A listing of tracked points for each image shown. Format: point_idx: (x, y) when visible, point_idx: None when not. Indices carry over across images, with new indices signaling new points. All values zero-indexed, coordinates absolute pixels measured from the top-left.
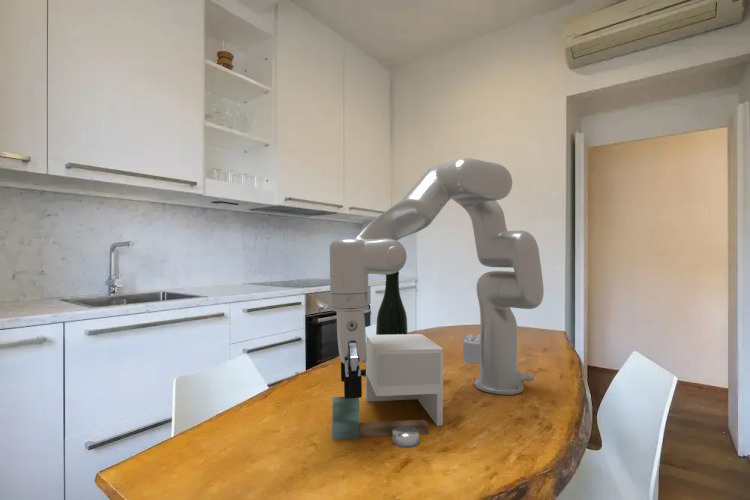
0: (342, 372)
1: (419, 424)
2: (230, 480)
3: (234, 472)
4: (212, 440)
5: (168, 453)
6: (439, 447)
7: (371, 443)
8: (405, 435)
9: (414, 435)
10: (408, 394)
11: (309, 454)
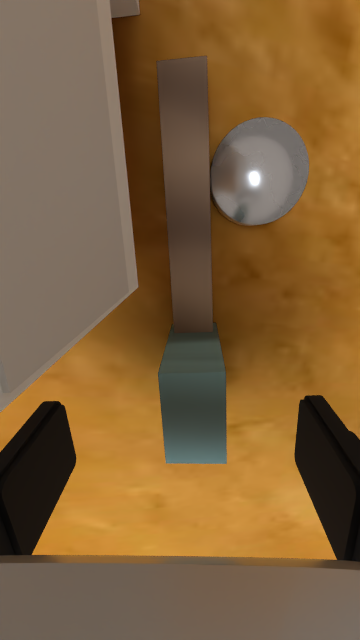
0: (56, 500)
1: (204, 100)
2: None
3: (328, 546)
4: None
5: None
6: (318, 55)
7: (251, 290)
8: (291, 180)
9: (298, 143)
10: (118, 96)
11: (285, 435)
